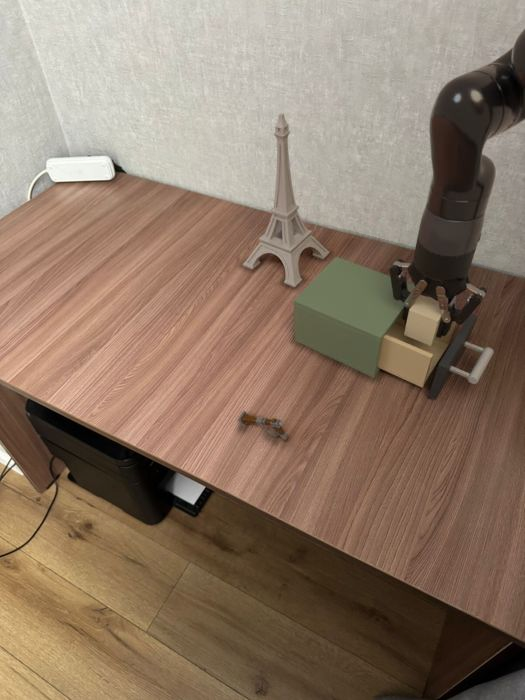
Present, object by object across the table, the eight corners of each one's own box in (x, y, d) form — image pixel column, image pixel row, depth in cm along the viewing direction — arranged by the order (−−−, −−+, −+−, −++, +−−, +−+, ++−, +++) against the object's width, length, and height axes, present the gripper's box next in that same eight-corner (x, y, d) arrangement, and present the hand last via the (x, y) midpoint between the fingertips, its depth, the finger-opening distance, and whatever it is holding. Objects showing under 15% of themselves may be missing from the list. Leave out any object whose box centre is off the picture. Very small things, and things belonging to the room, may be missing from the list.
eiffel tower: (242, 265, 103) (225, 121, 80) (278, 234, 109) (272, 93, 87) (294, 287, 97) (291, 138, 74) (329, 252, 103) (336, 107, 81)
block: (442, 328, 77) (450, 303, 73) (431, 346, 74) (438, 320, 70) (415, 318, 79) (421, 292, 75) (403, 335, 76) (409, 309, 72)
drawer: (491, 359, 80) (506, 326, 74) (463, 412, 73) (476, 380, 68) (386, 317, 88) (392, 284, 82) (352, 361, 82) (356, 328, 76)
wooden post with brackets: (289, 445, 72) (277, 424, 69) (249, 437, 77) (236, 418, 74) (295, 435, 73) (283, 415, 70) (255, 428, 78) (242, 409, 75)
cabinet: (409, 328, 87) (419, 286, 80) (374, 378, 80) (380, 337, 73) (333, 297, 94) (335, 256, 87) (294, 341, 87) (293, 300, 80)
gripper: (384, 234, 64) (372, 325, 77) (493, 269, 58) (460, 361, 71) (409, 207, 68) (393, 298, 81) (513, 238, 62) (478, 330, 75)
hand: (424, 327), depth 76 cm, fingers closed on block, 4 cm apart
